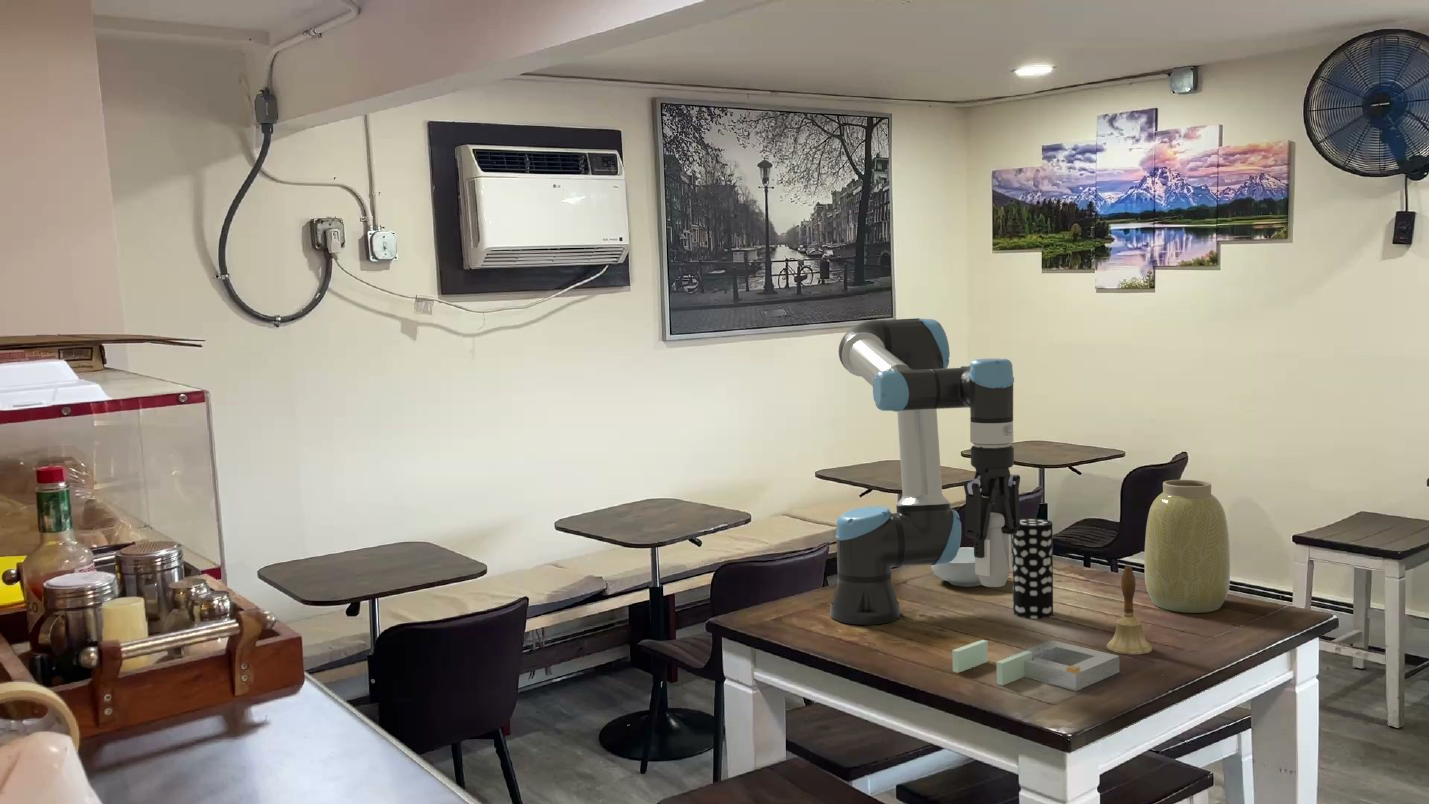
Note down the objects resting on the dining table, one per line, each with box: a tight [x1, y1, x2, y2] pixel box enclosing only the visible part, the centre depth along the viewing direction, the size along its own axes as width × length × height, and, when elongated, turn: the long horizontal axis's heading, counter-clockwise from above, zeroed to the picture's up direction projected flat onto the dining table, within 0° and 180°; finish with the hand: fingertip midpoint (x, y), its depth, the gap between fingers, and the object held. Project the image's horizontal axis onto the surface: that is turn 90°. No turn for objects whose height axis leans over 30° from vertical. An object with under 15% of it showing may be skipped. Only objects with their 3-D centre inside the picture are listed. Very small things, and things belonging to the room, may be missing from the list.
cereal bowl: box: [930, 546, 982, 588], centre depth 270 cm, size 17×17×7 cm
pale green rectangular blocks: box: [951, 639, 1032, 686], centre depth 204 cm, size 11×9×4 cm
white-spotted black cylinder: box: [1011, 518, 1054, 620], centre depth 241 cm, size 8×8×20 cm
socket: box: [1007, 639, 1120, 692], centre depth 203 cm, size 14×14×4 cm
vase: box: [1143, 479, 1231, 614], centre depth 243 cm, size 17×17×27 cm
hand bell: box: [1106, 566, 1153, 656], centre depth 215 cm, size 8×8×16 cm
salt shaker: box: [977, 512, 1010, 588], centre depth 203 cm, size 6×6×13 cm
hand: (993, 571), depth 203 cm, fingers closed on salt shaker, 6 cm apart
